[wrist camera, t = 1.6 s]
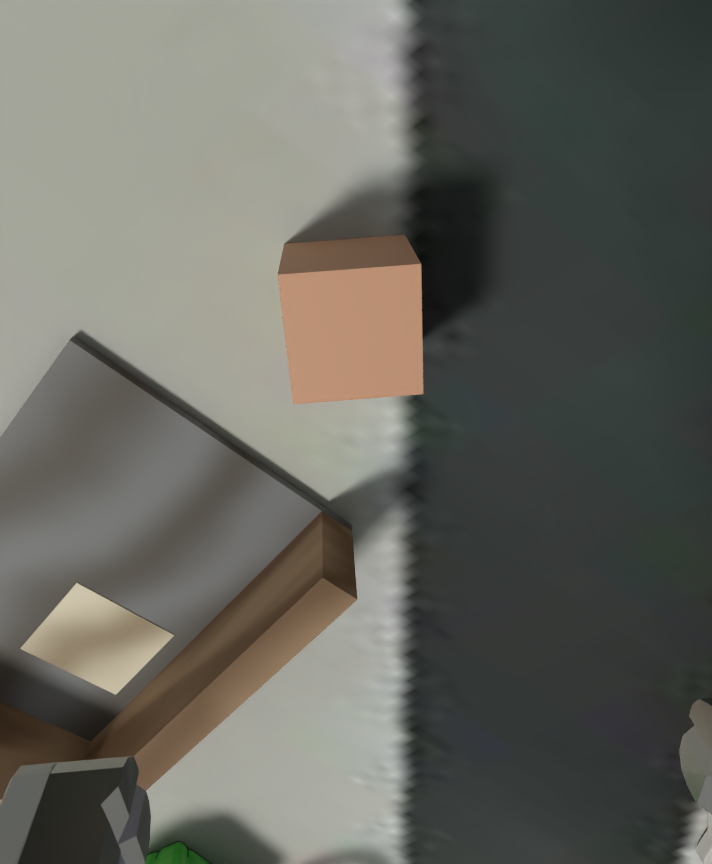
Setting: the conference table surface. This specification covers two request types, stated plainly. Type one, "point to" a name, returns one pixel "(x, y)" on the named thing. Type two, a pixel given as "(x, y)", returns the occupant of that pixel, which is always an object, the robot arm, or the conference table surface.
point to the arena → (145, 573)
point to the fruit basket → (175, 856)
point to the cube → (352, 318)
